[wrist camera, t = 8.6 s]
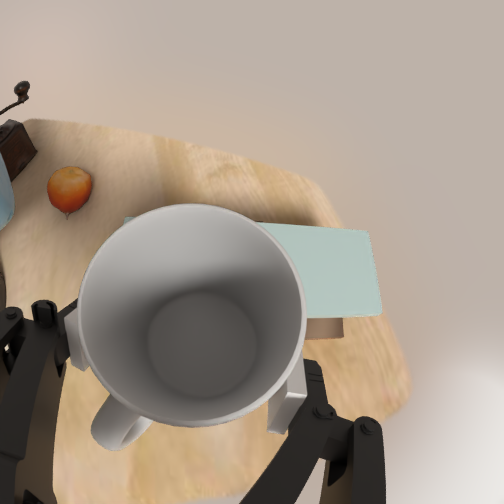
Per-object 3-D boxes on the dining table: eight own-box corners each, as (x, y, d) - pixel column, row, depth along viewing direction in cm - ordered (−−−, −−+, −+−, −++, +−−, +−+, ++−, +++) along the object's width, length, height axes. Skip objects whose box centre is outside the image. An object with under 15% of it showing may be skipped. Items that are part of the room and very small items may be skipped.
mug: (190, 270, 21) (172, 169, 11) (283, 331, 20) (347, 274, 10) (98, 389, 16) (-1, 379, 6) (193, 461, 14) (169, 535, 5)
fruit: (41, 207, 36) (41, 165, 31) (76, 195, 42) (80, 156, 38) (58, 232, 34) (59, 187, 30) (96, 217, 41) (102, 175, 36)
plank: (110, 307, 24) (106, 304, 23) (128, 222, 29) (125, 216, 28) (376, 315, 27) (382, 313, 26) (363, 236, 32) (367, 231, 30)
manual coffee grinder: (9, 186, 39) (-28, 128, 23) (-5, 174, 40) (-36, 123, 24) (54, 138, 46) (30, 77, 30) (36, 130, 47) (13, 77, 31)
